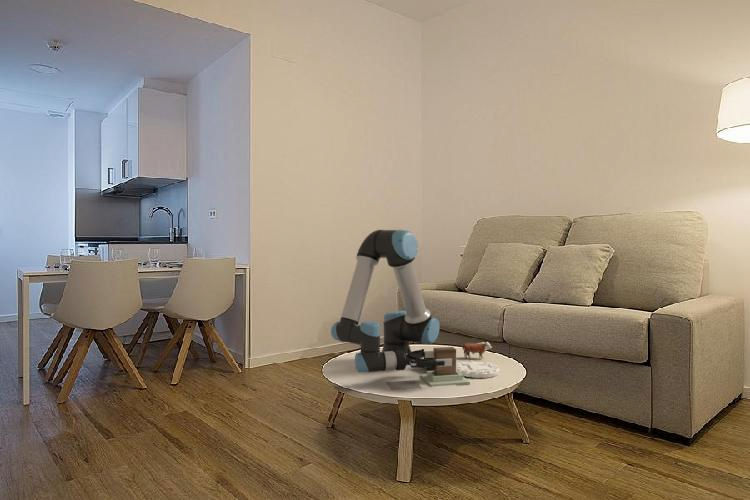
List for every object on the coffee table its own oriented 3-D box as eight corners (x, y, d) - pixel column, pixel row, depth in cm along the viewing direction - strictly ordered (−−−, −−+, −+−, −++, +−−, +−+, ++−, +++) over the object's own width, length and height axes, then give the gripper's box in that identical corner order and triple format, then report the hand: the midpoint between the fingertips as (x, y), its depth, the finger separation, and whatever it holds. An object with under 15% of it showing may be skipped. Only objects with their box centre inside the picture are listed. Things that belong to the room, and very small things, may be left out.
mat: (385, 382, 206) (385, 382, 206) (414, 380, 209) (414, 380, 209) (391, 390, 197) (391, 389, 196) (421, 388, 199) (421, 387, 199)
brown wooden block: (433, 377, 211) (433, 347, 210) (452, 375, 212) (452, 346, 212) (436, 380, 206) (437, 350, 206) (455, 379, 208) (456, 349, 207)
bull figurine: (491, 360, 240) (492, 343, 239) (462, 359, 242) (462, 342, 241) (491, 358, 244) (491, 340, 244) (462, 356, 246) (462, 339, 246)
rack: (420, 376, 214) (420, 369, 214) (457, 374, 218) (457, 367, 217) (431, 387, 201) (431, 379, 201) (470, 384, 204) (470, 376, 204)
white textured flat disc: (501, 368, 228) (501, 362, 228) (497, 381, 209) (497, 374, 209) (455, 364, 234) (455, 358, 234) (448, 376, 215) (448, 369, 215)
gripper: (386, 362, 216) (435, 359, 221) (402, 379, 192) (457, 375, 197) (386, 344, 216) (435, 341, 221) (402, 359, 192) (457, 356, 196)
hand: (445, 357), depth 209 cm, fingers open, 13 cm apart
